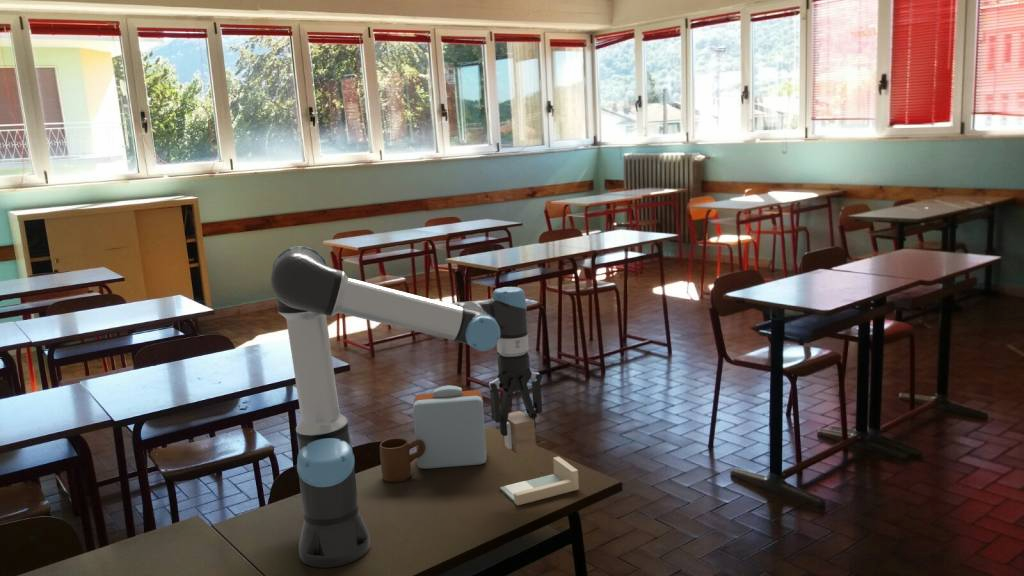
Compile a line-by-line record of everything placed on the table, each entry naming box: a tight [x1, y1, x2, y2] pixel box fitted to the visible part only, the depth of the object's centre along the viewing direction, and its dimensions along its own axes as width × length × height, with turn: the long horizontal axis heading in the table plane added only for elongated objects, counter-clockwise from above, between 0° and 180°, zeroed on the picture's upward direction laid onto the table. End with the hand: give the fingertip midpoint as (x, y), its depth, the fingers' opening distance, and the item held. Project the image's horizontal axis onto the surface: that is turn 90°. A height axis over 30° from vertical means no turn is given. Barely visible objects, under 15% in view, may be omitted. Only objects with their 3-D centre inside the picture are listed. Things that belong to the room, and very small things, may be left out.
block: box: [502, 410, 537, 455], centre depth 196 cm, size 8×5×8 cm, turn 24°
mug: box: [379, 437, 425, 483], centre depth 212 cm, size 12×8×9 cm, turn 112°
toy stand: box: [499, 456, 580, 506], centre depth 200 cm, size 17×10×5 cm, turn 114°
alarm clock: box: [412, 384, 488, 469], centre depth 219 cm, size 18×9×21 cm, turn 93°
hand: (519, 444), depth 197 cm, fingers closed on block, 5 cm apart
